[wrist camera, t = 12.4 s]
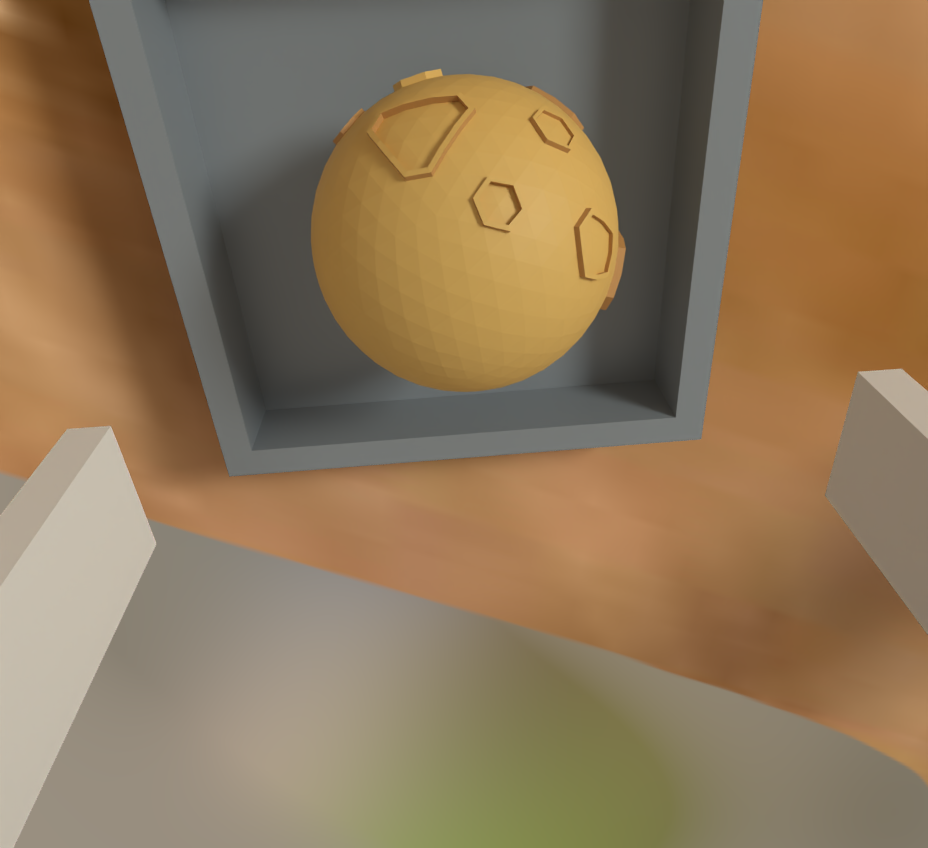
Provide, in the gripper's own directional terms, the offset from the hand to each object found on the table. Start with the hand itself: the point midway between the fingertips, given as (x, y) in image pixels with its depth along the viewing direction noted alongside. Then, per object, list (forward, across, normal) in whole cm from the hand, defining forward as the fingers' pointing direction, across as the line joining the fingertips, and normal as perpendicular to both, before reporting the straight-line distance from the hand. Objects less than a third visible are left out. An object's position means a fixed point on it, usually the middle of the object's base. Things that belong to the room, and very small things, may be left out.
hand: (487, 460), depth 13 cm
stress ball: (+18, 0, 0) cm, 18 cm away
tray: (+18, 0, 0) cm, 18 cm away
